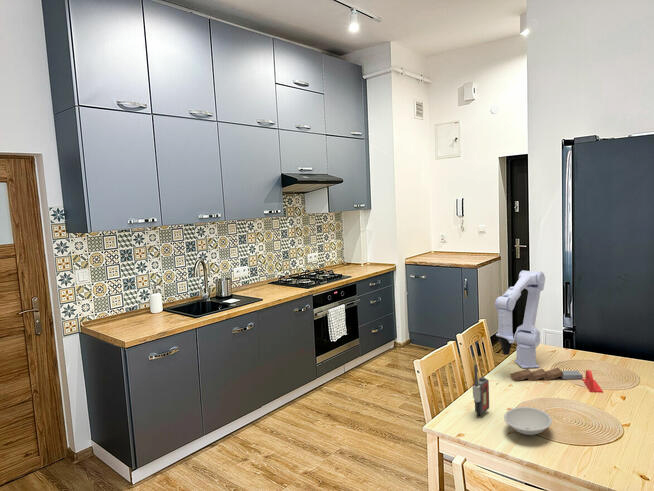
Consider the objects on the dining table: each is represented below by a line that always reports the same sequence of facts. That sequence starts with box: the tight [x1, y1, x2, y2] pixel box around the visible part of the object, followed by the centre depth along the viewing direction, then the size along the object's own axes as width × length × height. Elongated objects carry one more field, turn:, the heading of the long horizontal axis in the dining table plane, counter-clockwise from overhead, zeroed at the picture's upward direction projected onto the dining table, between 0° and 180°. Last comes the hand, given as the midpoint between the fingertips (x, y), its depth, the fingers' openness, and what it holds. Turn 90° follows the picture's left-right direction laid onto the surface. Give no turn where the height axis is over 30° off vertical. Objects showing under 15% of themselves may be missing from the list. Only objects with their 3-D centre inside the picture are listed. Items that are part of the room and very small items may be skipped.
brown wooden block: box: [509, 368, 533, 382], centre depth 192 cm, size 2×5×8 cm
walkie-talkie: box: [472, 364, 490, 418], centre depth 163 cm, size 9×4×20 cm, turn 135°
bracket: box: [581, 369, 604, 394], centre depth 180 cm, size 12×4×8 cm, turn 163°
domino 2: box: [542, 367, 563, 381], centre depth 191 cm, size 2×5×8 cm
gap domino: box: [560, 370, 584, 380], centre depth 190 cm, size 2×5×8 cm
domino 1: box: [526, 368, 548, 382], centre depth 192 cm, size 2×5×8 cm
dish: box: [503, 406, 553, 436], centre depth 149 cm, size 18×14×5 cm
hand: (506, 354), depth 195 cm, fingers closed
